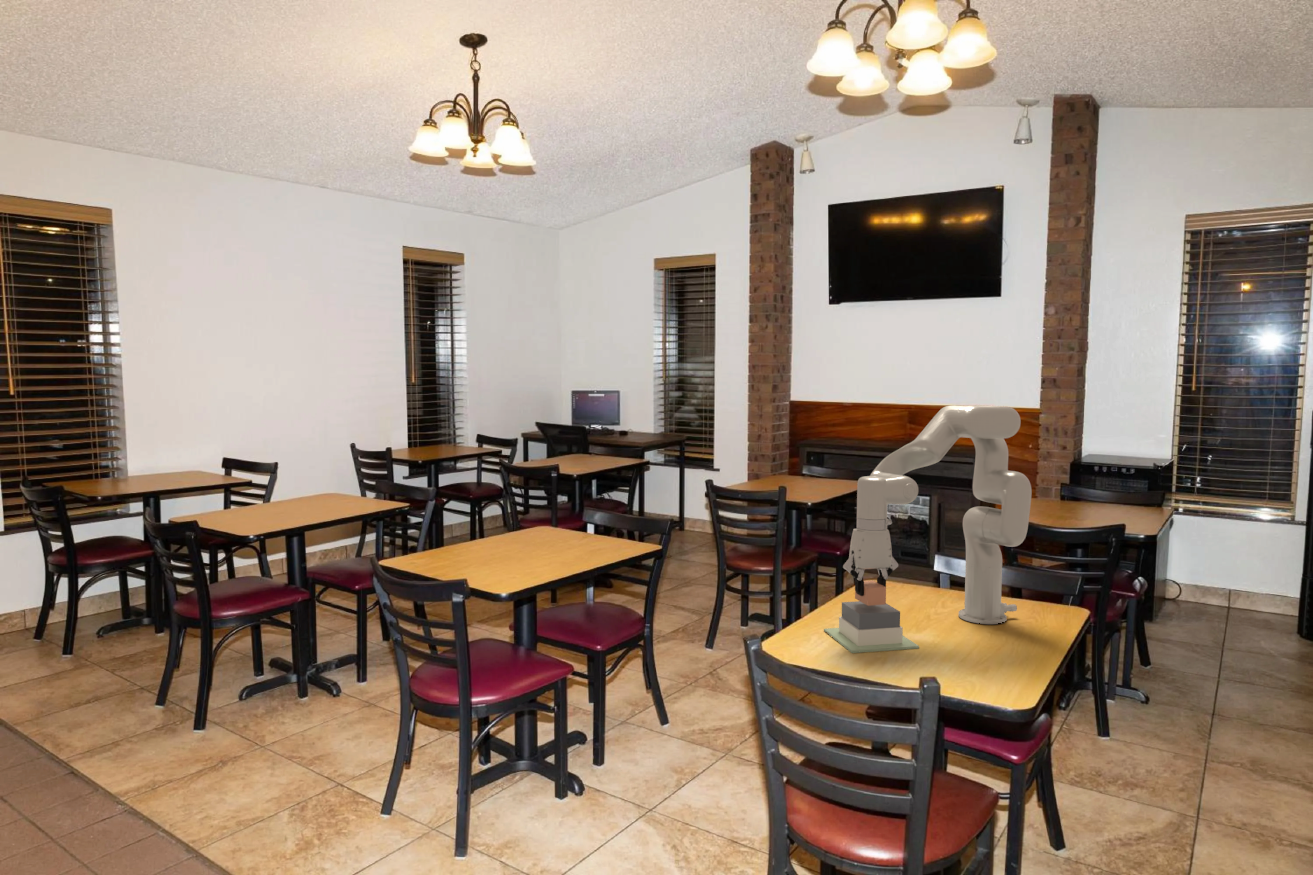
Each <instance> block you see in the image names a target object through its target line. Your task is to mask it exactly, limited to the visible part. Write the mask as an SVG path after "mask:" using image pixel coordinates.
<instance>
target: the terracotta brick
mask: <svg viewBox="0 0 1313 875" xmlns="http://www.w3.org/2000/svg"><path fill="white" fill-rule="evenodd" d="M863 581H864V595H863V596H860V595H858V594H857V593H856V591H855V590H854V599H856V600H857V601H860V602H862V603H864V604H866V605H868V606H871V605H885V604H887V602H886V601H887V586H886V587H885V586H883V585H881V584H879V583H877V581H875V580H863Z"/></svg>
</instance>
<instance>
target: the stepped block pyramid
mask: <svg viewBox="0 0 1313 875" xmlns="http://www.w3.org/2000/svg"><path fill="white" fill-rule="evenodd" d="M903 629H904V628H903V627H902V626H901V611H900V610H898V609H897V608H895V607H893V606H891V605H890V604H888V603H886V604H885V605H871V606H868V605H866V604H864V603H862V602H860V601H859V600H857V601H841V616H839V617H838V627H831V628H829V627H827V628H823V632H825V633H826V632H827V633H828V634H829V635H828V634H827V633H826V634H827V635H828V636H829V637H831V636H832V637H833V638H834V639H833V638H832V637H831V638H832V639H833V640H835V641H836V642H837V641H838V642H839V643H838V642H837V643H838V644H840V645H841V646H842V647H843V646H844V648H845V649H846V650H847V651H848V652H850V654H858V653H872V652H873V653H874V652H887V651H901V650H903V651H904V650H914V649H916V650H918V649H920V646H919V645H918V644H917V643H915V642H914V641H912V640H910V639H909V638H908V637H906V636H904V635H903Z"/></svg>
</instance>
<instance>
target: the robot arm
mask: <svg viewBox="0 0 1313 875" xmlns="http://www.w3.org/2000/svg"><path fill="white" fill-rule="evenodd" d="M1021 422H1022V421H1021V416H1020V414H1019V413H1018V411H1017V410H1016V409H1015V408H1013V407H1011V406H1004V405H1003V406H1001V405H980V404H979V405H978V404H976V405H954V404H952V405H946V406H944V407H942V408H940V410H939V411H938V412H937V413H935V415H934V416H933V417H932V419H930V421H929V422H928V423H927V425H926V426H925V427H924V428H923V430H922V431H921V432H919V434H918V435H917V436H916V437H915V439H914V440H912V441H910V442H909V443H907V444H905V445H903V446H902V447H900V448H899V449H896V450H894V451H893V452H891V453H890V454H888V455H887V456H885V457H884V458H883V459H882V460H881V461H880V462H879V463H878V464H877V466H875V468H874V469H873V470H872V472H871V473H870V475H867V476H861V477H859V478H858V480H857V484H856V485H857V487H856V488H857V490H856V493H857V494H856V497H857V498H856V528H853V530H852V533H851V539H850V545H849V554H848V555H849V556H848V559H847V560H846V562H844V563H843V565H842V568H843V569H844V570H846V571H847V573H849V574H850V575H851V576H852V577H853V579H854V592H855V591H856V593H857V594H858V595H860V596H863V595H864V581H865V580H863V576H864V573H865V571H866V570H877V572H878V576H877V578H876V582H877V583H879V584H881V585H883V586H885V587H886V588H887V580H888V579H889V576H890V575H891V574H892V573H893V571H895V570H896V569H897V568H899V563H898V562H897V560H896V559H895V558H894V556H893V553H892V552H893V550H892V542H891V534H890V530H889V529H888V526H890V525H892V519H888V505H890V504H891V505H904V506H905V505H908V504H911V503H912V502H913V501H915V500H916V499H917V497H918V495H919V484H917V482H916V480H914V479H913V478H911V477H910V476H907V475H905V474H907V473H909V472H911V471H913V470H917V469H920V468H924V467H928V466H929V467H930V466H932V465H934V464H936V463H939V462H940V461H942V459H943V458H944V457H945V455H946V454H947V453H948V452H949V450H951V448H952V447H953V446H954V444H955V443H956V442H957V441H958V440H959V439H960V438H964V439H965V438H967V439H968V438H969V439H970V440H971V441H972V443H973V445H974V449H975V459H974V461H975V462H974V469H973V478H972V494H973V496H974V497H975V499H977V500H978V501H979V500H980V501H982V502H986V503H989V504H990V503H991V504H996V505H1001V509H999V508H994V507H989V506H974V507H971V508H968V510H967V511H966V512H965V513H964V515H963V518H962V530H963V536H964V540H965V541H964V542H965V572H964V573H965V576H964V578H965V579H964V580H965V581H964V583H965V584H964V608H963V609H960V610H959V611H958V617H959V618H960V619H961V620H964V621H966V622H970V623H973V624H979V623H980V625H999V624H998V623H1001V624H1003V623H1002V622H1004V623H1006V622H1005V621H1007V618H1008V617H1007V615H1006V613H1007V612H1016V611H1017V610H1018V608H1017V605H1016V604H1011V603H1010V604H1007V603H1006V602H1002V585H1003V583H1002V582H1003V574H1002V573H1003V555H1002V551H1001V548H1000V546H1005V547H1011V548H1013V547H1018V546H1020V545H1021V544H1023V542H1024V541H1025V540H1026V537H1027V533H1028V529H1029V521H1030V520H1029V519H1030V512H1031V504H1032V496H1033V495H1032V484H1031V482H1030V480H1029V478H1028V477H1027V476H1026V475H1025V474H1024V473H1022V472H1019V471H1015V470H1009V448H1008V445H1007V442H1006V441H1005V439H1009V438H1011V437H1013V436H1015V435H1016V434H1017V433H1018V432H1019V430H1020V428H1021ZM852 566H853V567H855V568H852Z"/></svg>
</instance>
